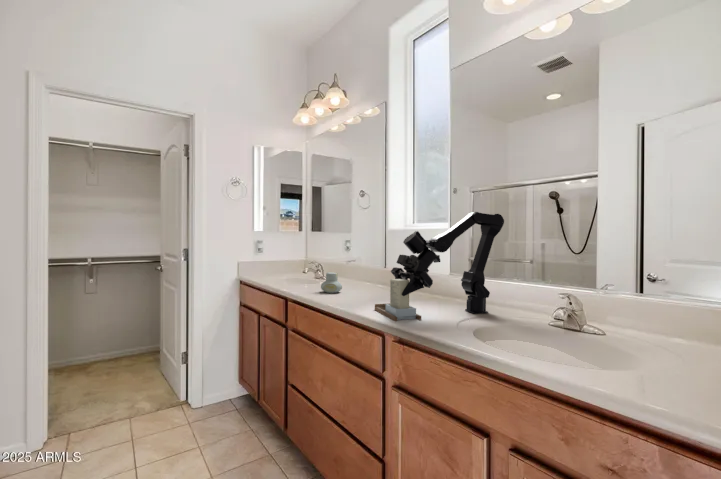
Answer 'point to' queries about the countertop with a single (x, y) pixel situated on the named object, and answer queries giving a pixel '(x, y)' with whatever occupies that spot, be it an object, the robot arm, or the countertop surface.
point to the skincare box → (398, 294)
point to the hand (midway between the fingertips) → (397, 293)
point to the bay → (381, 309)
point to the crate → (402, 312)
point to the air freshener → (331, 283)
